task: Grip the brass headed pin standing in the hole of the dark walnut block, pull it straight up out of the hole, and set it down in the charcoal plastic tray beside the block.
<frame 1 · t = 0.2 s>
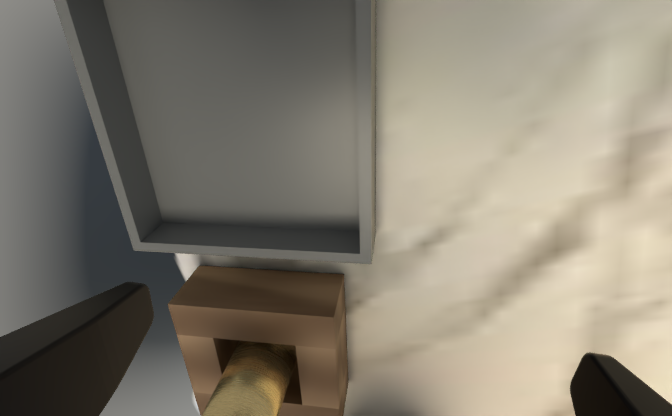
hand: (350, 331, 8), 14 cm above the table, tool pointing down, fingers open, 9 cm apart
brass pin: (249, 396, 23), in the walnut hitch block
charcoal tray: (248, 119, 21), on the table
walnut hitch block: (277, 327, 28), on the table
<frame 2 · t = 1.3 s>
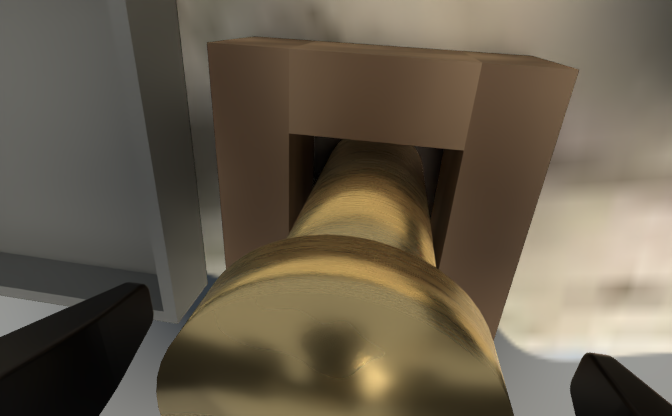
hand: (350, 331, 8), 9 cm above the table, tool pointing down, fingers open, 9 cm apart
brass pin: (361, 246, 11), in the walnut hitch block
charcoal tray: (49, 139, 18), on the table
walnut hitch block: (374, 175, 16), on the table
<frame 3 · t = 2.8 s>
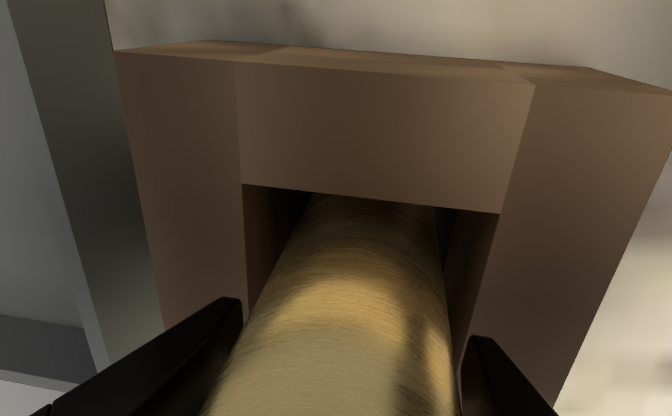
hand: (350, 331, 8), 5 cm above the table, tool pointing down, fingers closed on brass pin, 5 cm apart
brass pin: (345, 359, 7), in the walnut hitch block, touching gripper
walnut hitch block: (369, 219, 13), on the table
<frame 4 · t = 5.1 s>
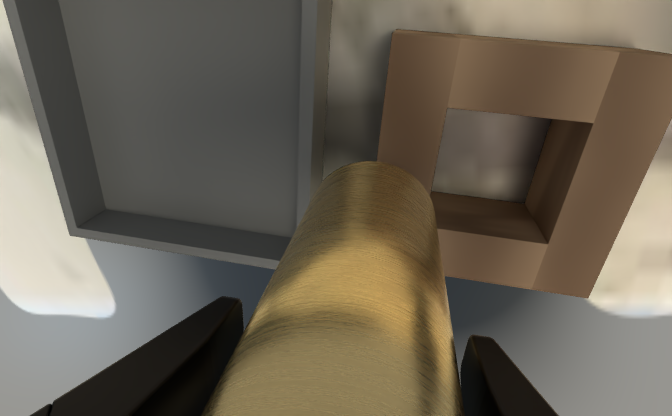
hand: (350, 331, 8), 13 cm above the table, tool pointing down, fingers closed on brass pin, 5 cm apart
brass pin: (347, 360, 7), point 14 cm above the table, touching gripper
charcoal tray: (197, 115, 21), on the table
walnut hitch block: (484, 149, 19), on the table
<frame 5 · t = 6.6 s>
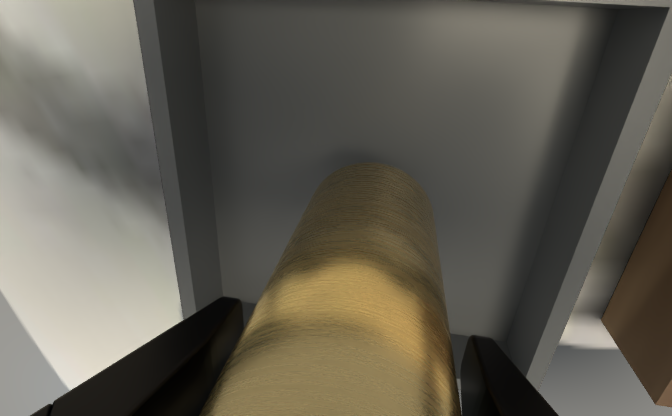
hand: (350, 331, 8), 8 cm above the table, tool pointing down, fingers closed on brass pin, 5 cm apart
brass pin: (344, 362, 7), point 9 cm above the table, touching gripper
charcoal tray: (373, 183, 15), on the table
when the fingers open (7 cm above the table, at t = 7.6 s): brass pin drops 1 cm, resting on charcoal tray.
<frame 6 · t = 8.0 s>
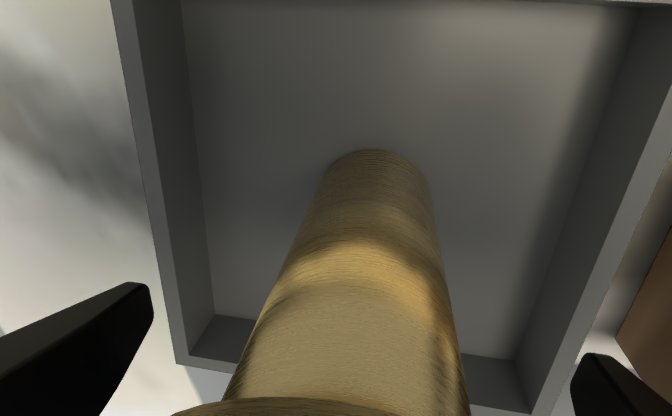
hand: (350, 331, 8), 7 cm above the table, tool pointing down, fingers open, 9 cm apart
brass pin: (358, 316, 9), in the charcoal tray, point 6 cm above the table
charcoal tray: (373, 194, 14), on the table
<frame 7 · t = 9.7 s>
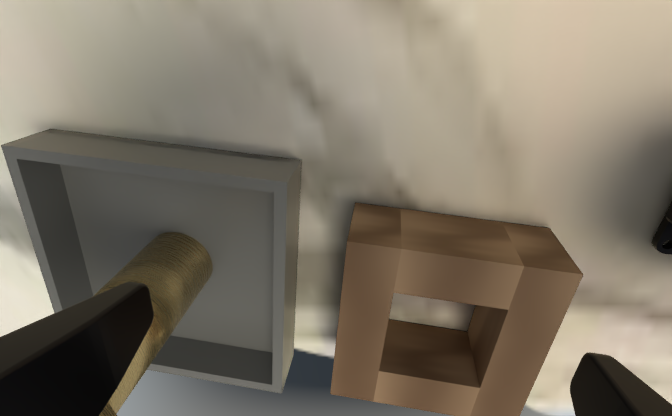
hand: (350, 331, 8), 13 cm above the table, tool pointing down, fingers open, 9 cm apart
brass pin: (121, 330, 18), in the charcoal tray, point 6 cm above the table
charcoal tray: (184, 254, 24), on the table
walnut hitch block: (432, 291, 23), on the table
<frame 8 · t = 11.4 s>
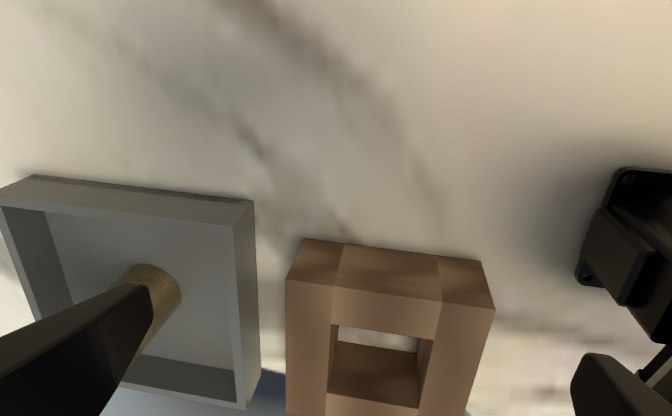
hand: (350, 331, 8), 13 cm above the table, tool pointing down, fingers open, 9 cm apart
brass pin: (88, 356, 21), in the charcoal tray, point 6 cm above the table
charcoal tray: (157, 283, 26), on the table
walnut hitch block: (380, 317, 24), on the table
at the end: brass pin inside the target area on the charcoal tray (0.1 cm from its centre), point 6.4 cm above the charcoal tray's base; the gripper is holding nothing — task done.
